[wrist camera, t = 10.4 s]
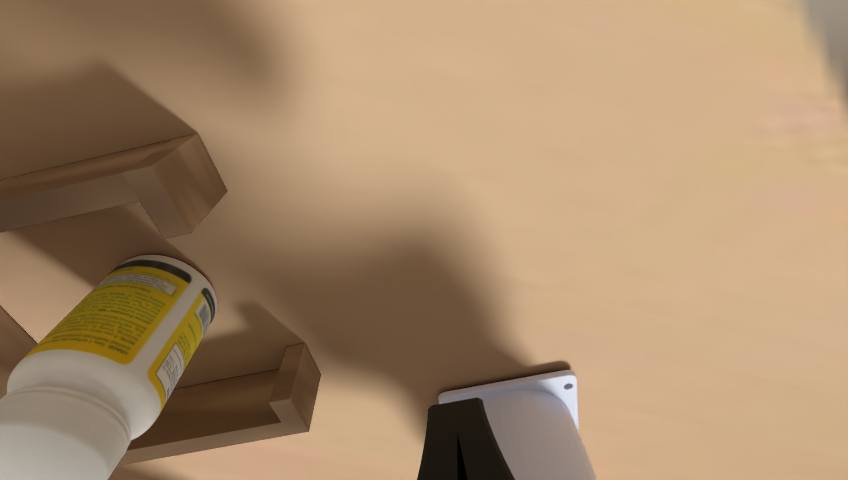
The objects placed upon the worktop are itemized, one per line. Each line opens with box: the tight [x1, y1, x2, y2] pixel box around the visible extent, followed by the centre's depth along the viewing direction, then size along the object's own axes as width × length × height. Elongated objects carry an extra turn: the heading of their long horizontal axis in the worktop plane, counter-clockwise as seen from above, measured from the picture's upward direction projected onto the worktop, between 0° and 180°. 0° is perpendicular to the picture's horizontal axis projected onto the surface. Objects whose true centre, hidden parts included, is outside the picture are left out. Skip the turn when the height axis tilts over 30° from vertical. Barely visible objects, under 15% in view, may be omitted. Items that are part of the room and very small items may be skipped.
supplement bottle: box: [0, 255, 217, 480], centre depth 16 cm, size 5×5×8 cm
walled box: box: [0, 133, 321, 466], centre depth 19 cm, size 14×14×4 cm
